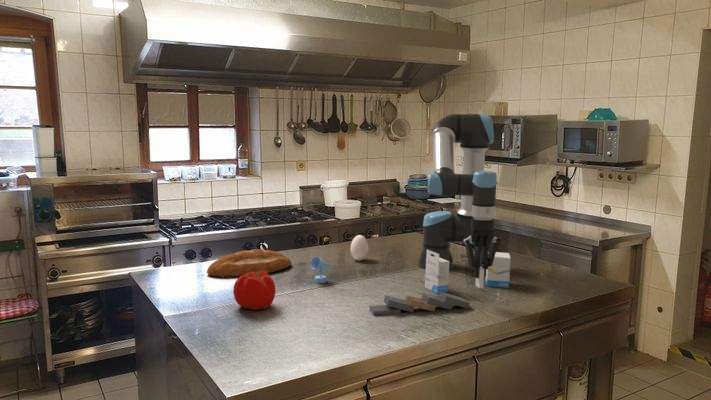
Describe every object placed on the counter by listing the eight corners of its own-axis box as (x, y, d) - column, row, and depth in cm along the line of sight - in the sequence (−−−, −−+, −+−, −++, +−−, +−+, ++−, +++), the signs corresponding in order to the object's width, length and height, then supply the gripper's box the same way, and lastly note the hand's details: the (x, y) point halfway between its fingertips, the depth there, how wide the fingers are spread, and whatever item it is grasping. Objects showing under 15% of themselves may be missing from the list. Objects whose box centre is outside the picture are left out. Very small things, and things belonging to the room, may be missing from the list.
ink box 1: (448, 292, 190) (450, 253, 187) (437, 294, 187) (439, 254, 185) (435, 285, 197) (437, 247, 195) (424, 287, 195) (425, 249, 193)
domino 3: (444, 304, 176) (421, 298, 174) (446, 299, 176) (423, 292, 174) (451, 310, 172) (427, 303, 169) (453, 304, 172) (429, 297, 169)
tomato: (257, 317, 162) (256, 281, 161) (224, 308, 170) (223, 273, 168) (284, 305, 174) (284, 271, 172) (253, 297, 181) (252, 264, 179)
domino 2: (408, 307, 174) (383, 300, 172) (410, 301, 173) (385, 295, 172) (412, 312, 169) (387, 305, 167) (414, 306, 169) (389, 299, 167)
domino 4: (461, 303, 178) (438, 296, 175) (463, 298, 178) (440, 291, 175) (467, 308, 173) (444, 301, 171) (469, 303, 173) (446, 296, 170)
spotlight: (317, 284, 196) (330, 281, 201) (317, 258, 195) (331, 255, 199) (308, 281, 200) (322, 278, 204) (308, 256, 198) (322, 253, 203)
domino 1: (395, 310, 173) (369, 311, 170) (395, 304, 172) (369, 306, 170) (400, 315, 168) (373, 317, 166) (400, 309, 167) (373, 311, 165)
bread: (202, 270, 213) (201, 249, 212) (284, 261, 229) (284, 241, 228) (211, 282, 198) (211, 259, 196) (299, 271, 214) (299, 250, 213)
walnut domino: (428, 306, 175) (404, 300, 172) (430, 300, 175) (406, 294, 172) (434, 311, 170) (409, 305, 168) (435, 305, 170) (411, 299, 167)
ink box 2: (509, 288, 196) (511, 257, 194) (486, 286, 197) (487, 256, 196) (507, 281, 204) (509, 252, 202) (485, 279, 206) (486, 251, 204)
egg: (371, 259, 233) (372, 234, 231) (362, 263, 226) (362, 237, 225) (356, 257, 237) (356, 232, 236) (346, 260, 231) (347, 235, 229)
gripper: (469, 220, 167) (466, 291, 171) (506, 219, 170) (502, 289, 174) (459, 216, 175) (456, 284, 178) (495, 215, 178) (491, 282, 181)
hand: (479, 286), depth 176 cm, fingers closed
